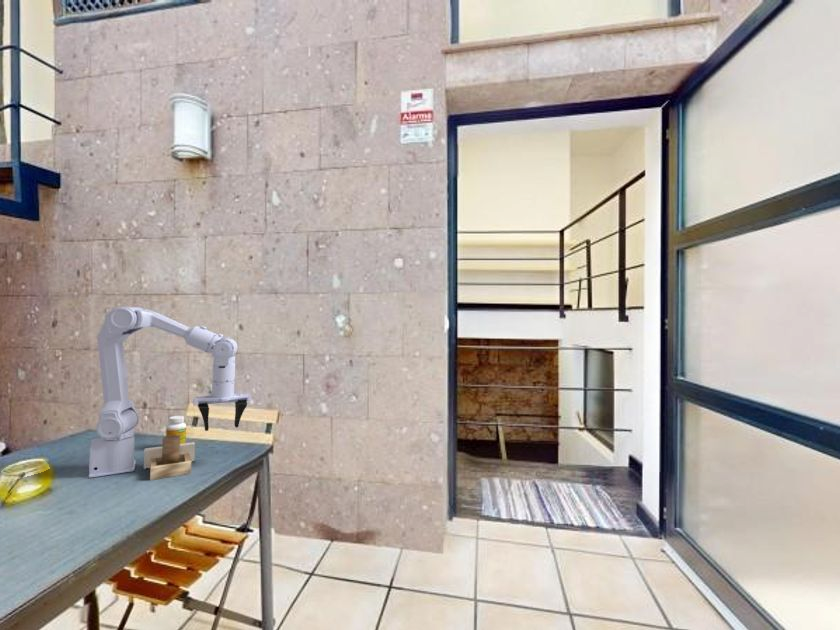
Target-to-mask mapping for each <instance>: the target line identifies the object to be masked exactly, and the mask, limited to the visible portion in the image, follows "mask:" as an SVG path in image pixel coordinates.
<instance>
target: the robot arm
mask: <svg viewBox="0 0 840 630" xmlns="http://www.w3.org/2000/svg"><path fill="white" fill-rule="evenodd" d="M144 328H156V329H158V330H162V331H164V332H167V333H169V334H172V335H174V336H177V337H181V338H183V340H184V341H185V344H186V345H187V346H189V347H192V348H195V349H198V350H200V351H202V352H204V353H206V354H207V353H208V354H211V356H212V357H213V364H212V385H211V395H210V394H209V395H205V396H195V397H193V401H192V404H193V407H194V406H195V407H196V406H197V408H198V410H199V412H200V414H201V418H202V420H203V425H204V431H205V432H207V431H208V432H209V426H210V425H209V413H210V406H209V405H212V404H213V405H214V404H223V403H224V404H225V403H234V404H235V405H234V406H235V409H234V410H235V414H234V427H235V428H239V424H240V421H241V418H242V416H243V415H244V414H243V413H244V411H245V410H246V408H247V406H248V402H251V401H252V397H251V393H235V383H236V382H235V380H236V356H235V355H236V353H237V352H238V347H239V345H238V344H237V342H236V340H234V339H233V338H232V337H224V334H222V333H219V334H218V333H215V332H213V331H210V330H208V329H207V328H208V327H207V326H205V325H201V326H199V325H195V326H193V327H189V326H187V325H185V324H183V323H181V322H178V321H177V320H174V319H172V318H170V317H168V316H165V315H163V314H162V313H160V312H157V311H155V310H152V309H151V310H150V309H146V308H144V307H142V306H126V305H125V306H116V307H114V308H113V309H112V310H110V311H109V312H107V314H105V315H104V322H103V323H102V325H101V328H100V330H99V331H98V334H97V336H96V337H97V338H96V340H97V351H98V359H99V367H100V377H101V385H102V386H101V387H102V397H103V405H102V406H101V408H100V410H99V412H98V421H97V423H96V426H95V429H96V433H97V435H98V436H99V438H93V439H91V442H90V447H89V461H88V478H89V479H90V478H98V477H104V476H105V477H106V476H111V475H117V474H124V473H130V472H134V471H135V469H136V462H137V461H136V459H135V457H134V456H135V427H137V425H138V424H139V421H140V414H139V412H137V410H136V408H135V403H134V402H133V400H131V399H130V395H129V387H128V386H129V385H128V377H127V367H126V359H125V349H124V341H126V339H128V338H129V337H130V336H131V335H132V334H134V333H135V332H137V331H141V330H142V329H144Z"/></svg>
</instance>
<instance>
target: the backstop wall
mask: <svg viewBox="0 0 840 630" xmlns="http://www.w3.org/2000/svg"><path fill="white" fill-rule="evenodd" d="M195 450H196V443H195V442H194V441H192V442H186V443H184V444H180V453H184V452H189V455H190V459H191V463H193V462H192V461H194V462H195V453H196V451H195ZM156 456H162V446H155V447H154V446H152V447H145V448H144V452H143V470H146V468H148V469H150V465H151V457H156Z"/></svg>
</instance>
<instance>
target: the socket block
mask: <svg viewBox="0 0 840 630" xmlns="http://www.w3.org/2000/svg"><path fill="white" fill-rule="evenodd" d="M189 473H191V474H192V462H191V459H190V455H189V452H184V453H179V463H173V464H166V465H162V456H156V457H151V465H150V468H149V474H150V475H149V477H150V478H149V479H150V481H155V480H161V479H165V478H172V477H178V476H183V475H184V474H185V475H189ZM185 475H184V476H185ZM154 479H155V480H154Z"/></svg>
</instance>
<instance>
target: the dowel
mask: <svg viewBox="0 0 840 630" xmlns="http://www.w3.org/2000/svg"><path fill="white" fill-rule="evenodd" d="M179 453H180V436H177V435H172V436H167V437H166V436H164V437H162V465H166V464H173V463H179Z"/></svg>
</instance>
